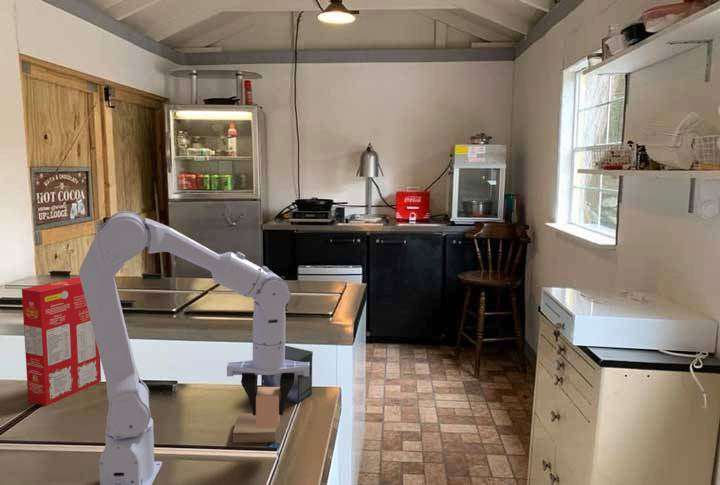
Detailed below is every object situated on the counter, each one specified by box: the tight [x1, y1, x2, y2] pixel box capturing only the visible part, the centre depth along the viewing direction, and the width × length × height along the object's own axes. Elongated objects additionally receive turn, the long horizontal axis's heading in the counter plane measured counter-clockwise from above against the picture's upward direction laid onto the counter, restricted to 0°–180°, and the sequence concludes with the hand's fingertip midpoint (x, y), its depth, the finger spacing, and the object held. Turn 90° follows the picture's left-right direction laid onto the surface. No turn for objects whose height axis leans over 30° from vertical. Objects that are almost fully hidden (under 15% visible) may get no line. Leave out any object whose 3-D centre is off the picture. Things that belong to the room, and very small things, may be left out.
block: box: [256, 386, 281, 429], centre depth 96 cm, size 4×4×6 cm
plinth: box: [232, 413, 278, 444], centre depth 105 cm, size 8×8×2 cm
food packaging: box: [21, 276, 102, 407], centre depth 120 cm, size 15×5×25 cm, turn 160°
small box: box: [260, 345, 314, 404], centre depth 123 cm, size 11×6×10 cm, turn 62°
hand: (268, 412), depth 96 cm, fingers closed on block, 4 cm apart
